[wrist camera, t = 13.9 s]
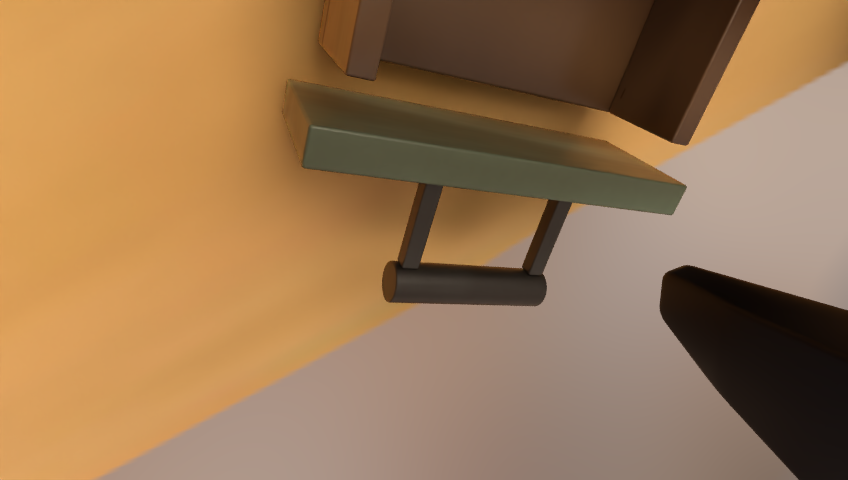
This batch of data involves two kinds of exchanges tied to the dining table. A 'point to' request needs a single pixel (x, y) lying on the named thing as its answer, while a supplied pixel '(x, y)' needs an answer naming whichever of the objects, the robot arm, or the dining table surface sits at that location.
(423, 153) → the drawer
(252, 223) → the dining table surface
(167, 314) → the dining table surface
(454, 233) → the dining table surface
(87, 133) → the dining table surface
